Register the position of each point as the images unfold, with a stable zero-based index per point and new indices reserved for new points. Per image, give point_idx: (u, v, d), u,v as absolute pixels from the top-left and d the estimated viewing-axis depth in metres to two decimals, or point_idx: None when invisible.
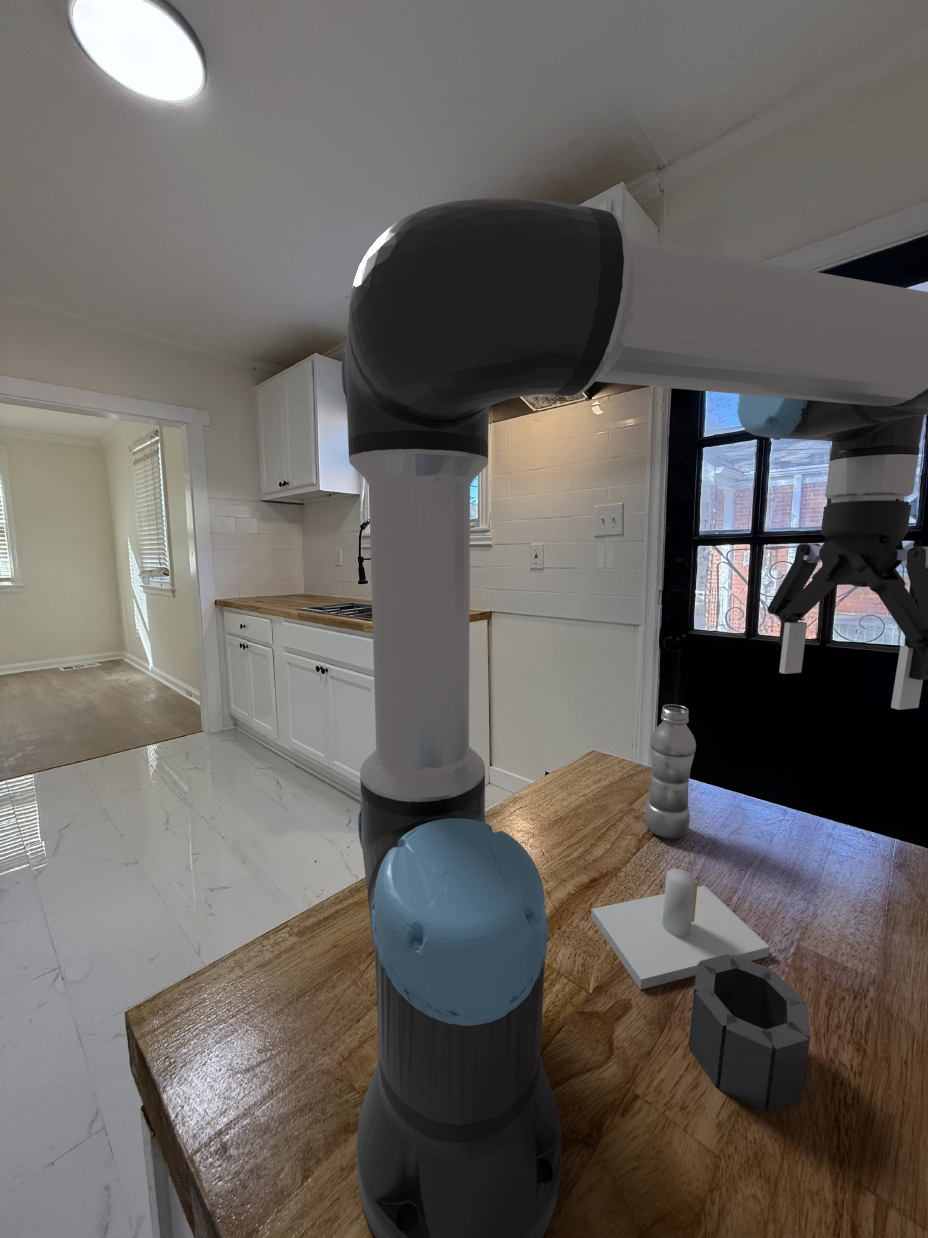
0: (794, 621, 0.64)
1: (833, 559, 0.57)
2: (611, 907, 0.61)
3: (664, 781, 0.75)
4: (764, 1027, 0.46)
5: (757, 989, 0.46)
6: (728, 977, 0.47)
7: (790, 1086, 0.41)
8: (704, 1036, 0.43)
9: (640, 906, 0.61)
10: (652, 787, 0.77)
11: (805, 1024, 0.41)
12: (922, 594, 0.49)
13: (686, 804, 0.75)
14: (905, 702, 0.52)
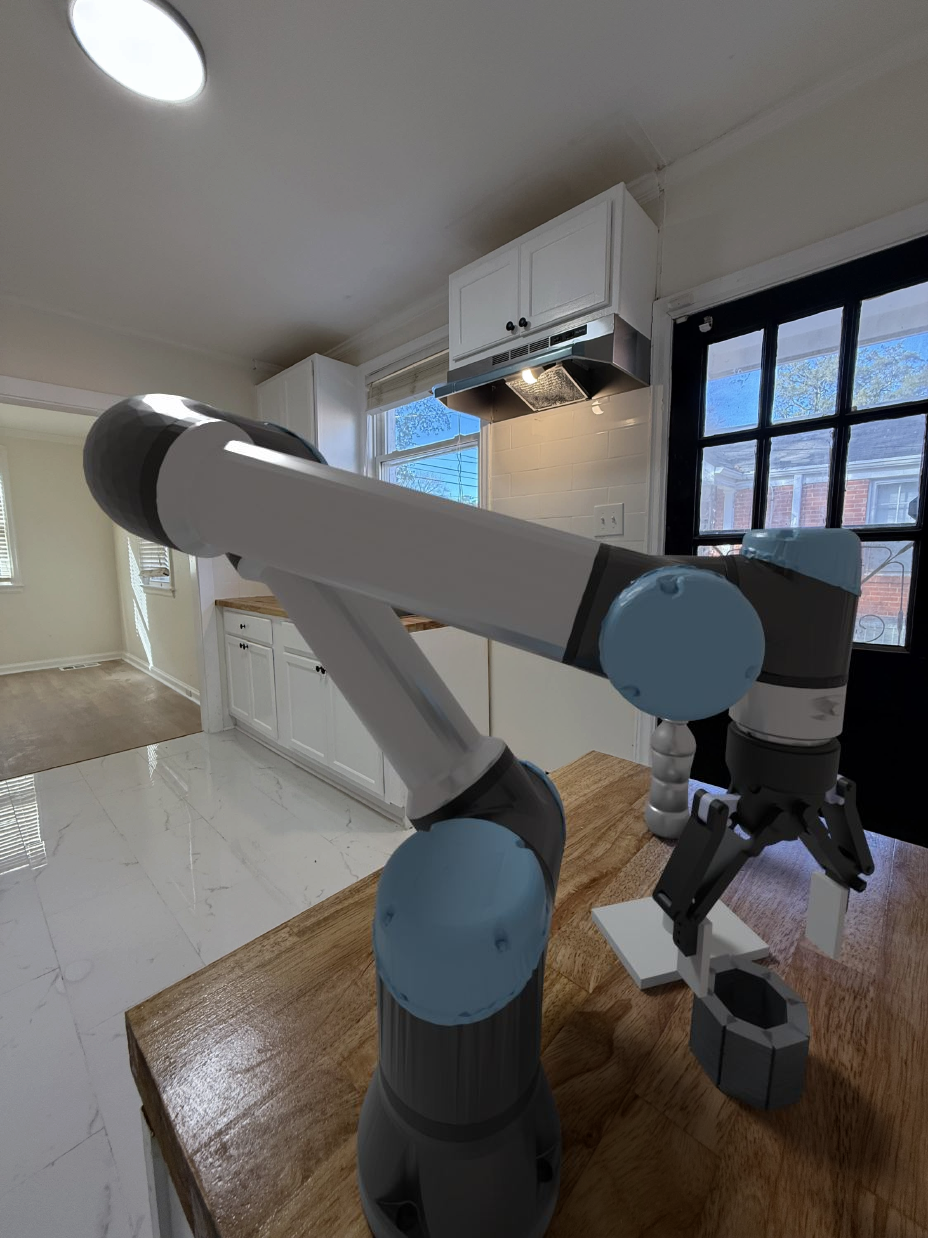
0: (833, 879, 0.44)
1: None
2: (611, 907, 0.61)
3: (664, 781, 0.75)
4: (764, 1027, 0.46)
5: (757, 989, 0.46)
6: (728, 977, 0.47)
7: (790, 1086, 0.41)
8: (704, 1036, 0.43)
9: (640, 906, 0.61)
10: (652, 787, 0.77)
11: (805, 1024, 0.41)
12: None
13: (686, 804, 0.75)
14: (683, 970, 0.42)
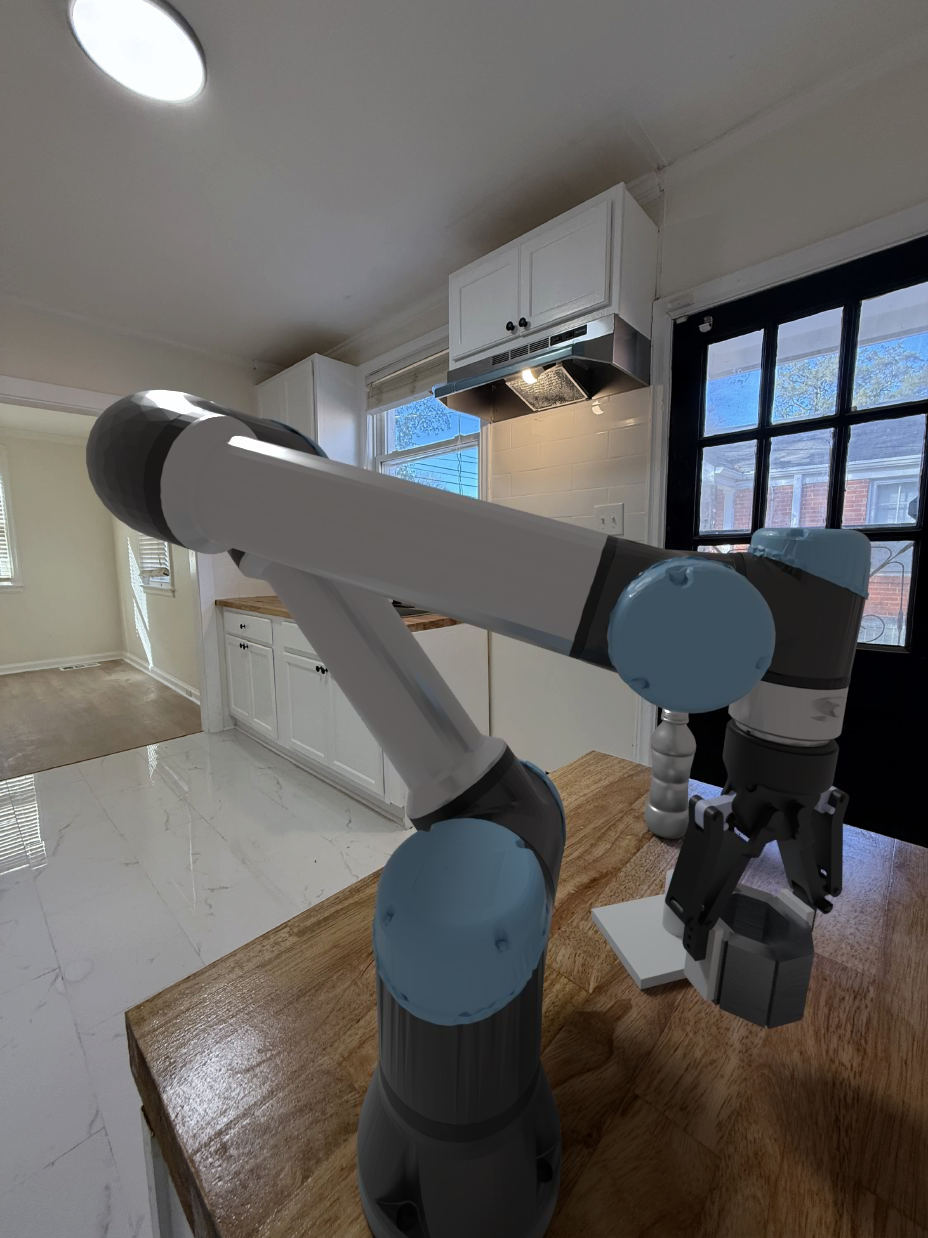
0: (800, 899, 0.44)
1: None
2: (611, 907, 0.61)
3: (664, 781, 0.75)
4: None
5: (759, 914, 0.45)
6: (730, 902, 0.46)
7: (792, 1003, 0.39)
8: None
9: (640, 906, 0.61)
10: (652, 787, 0.77)
11: (809, 942, 0.40)
12: None
13: (686, 804, 0.75)
14: (690, 973, 0.43)
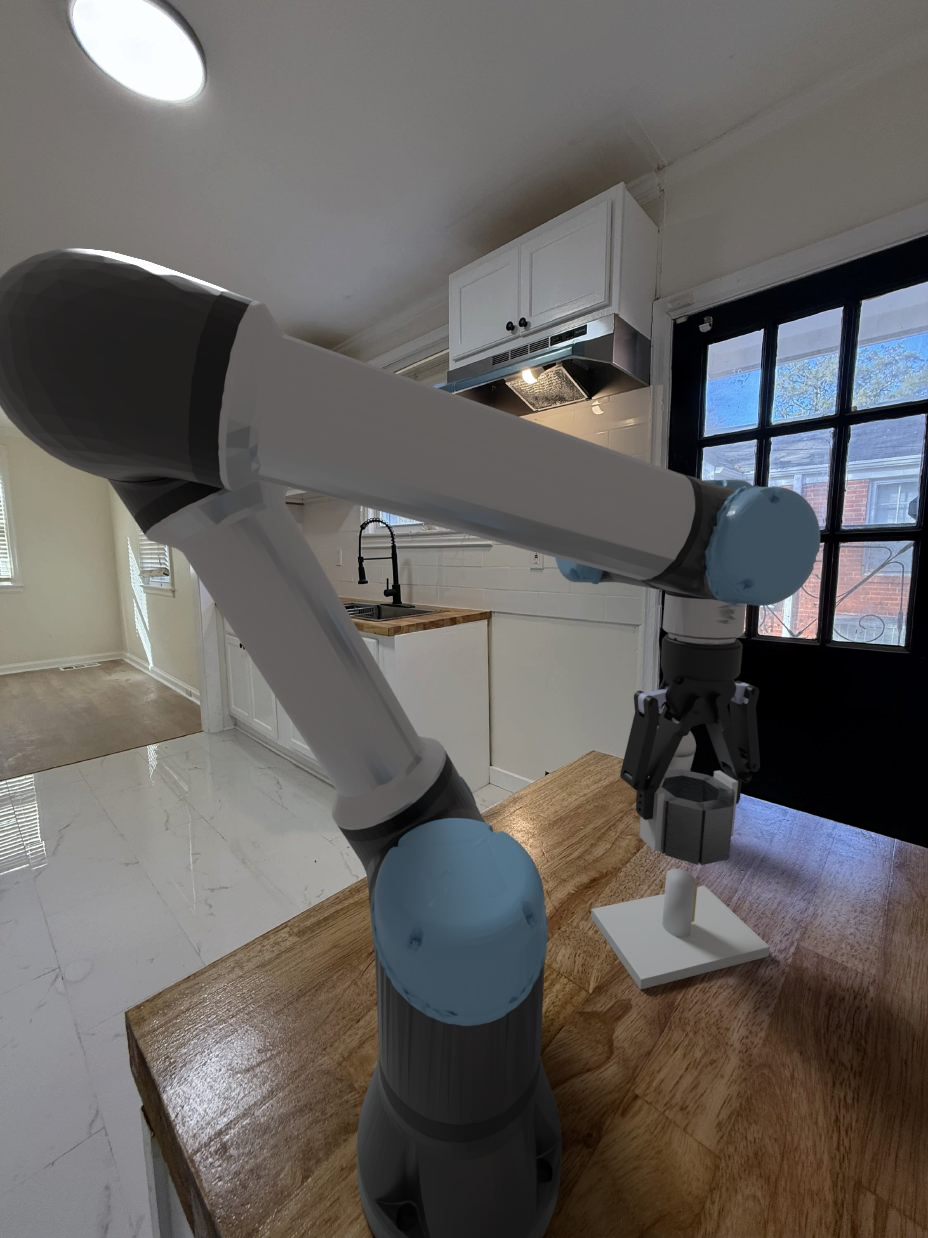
0: (728, 775, 0.56)
1: None
2: (611, 907, 0.61)
3: None
4: None
5: (698, 790, 0.57)
6: (676, 782, 0.58)
7: (719, 845, 0.52)
8: None
9: (640, 906, 0.61)
10: None
11: (731, 799, 0.52)
12: None
13: None
14: (644, 834, 0.55)
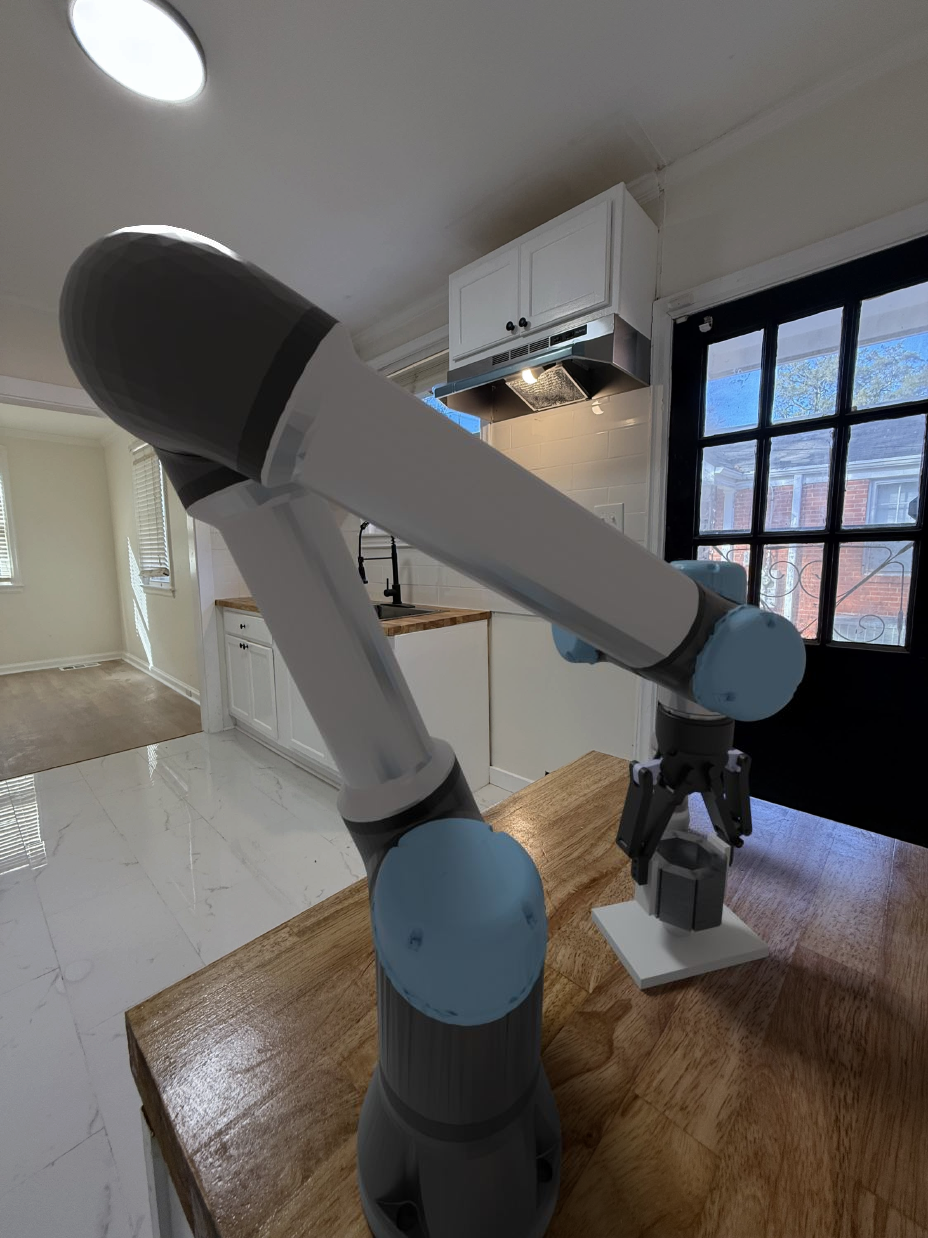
0: (721, 839, 0.57)
1: None
2: (611, 907, 0.61)
3: None
4: None
5: (692, 852, 0.58)
6: (670, 844, 0.59)
7: (711, 912, 0.53)
8: None
9: (640, 906, 0.61)
10: None
11: (723, 867, 0.54)
12: None
13: (686, 804, 0.75)
14: (638, 897, 0.56)
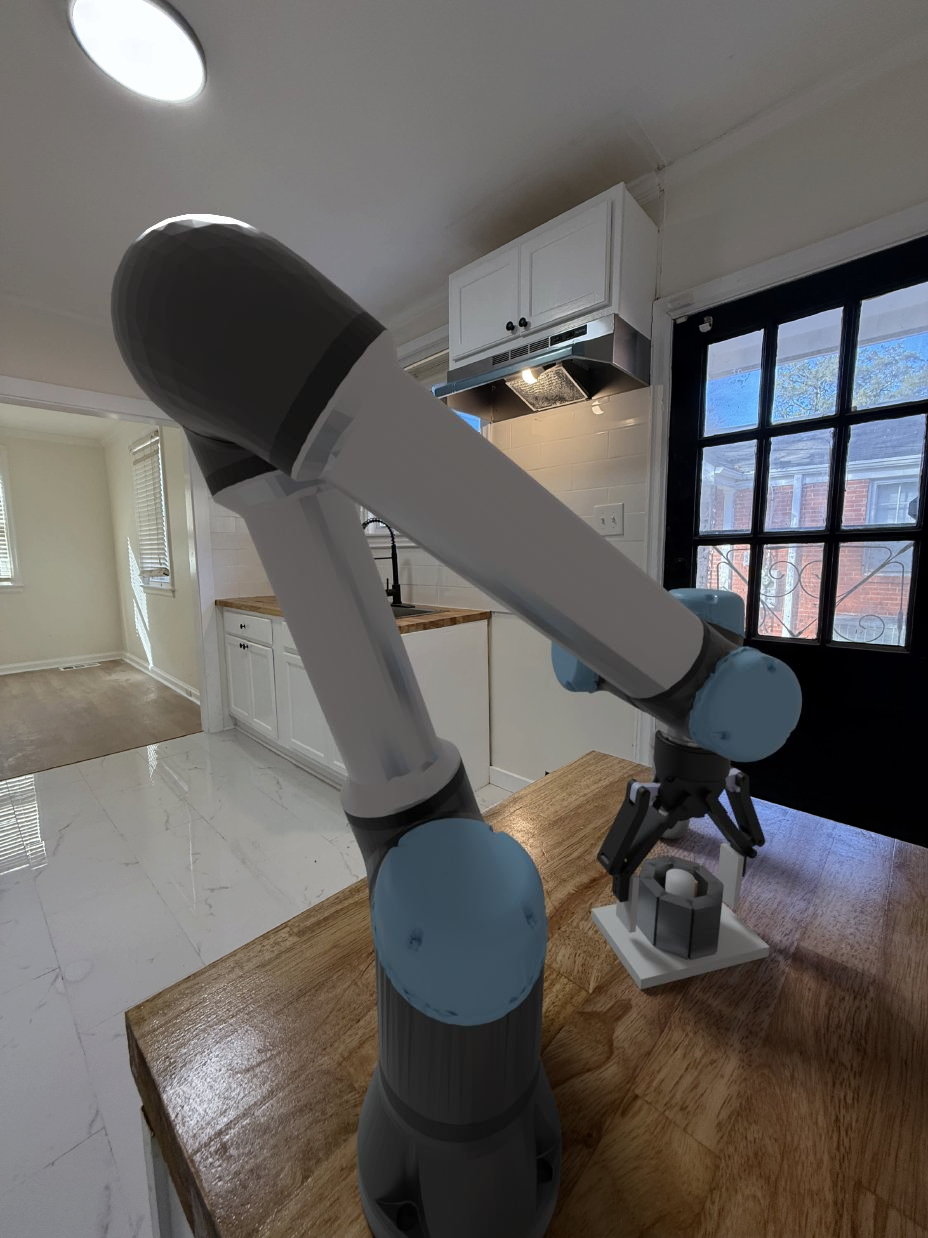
0: (734, 849, 0.58)
1: None
2: (611, 907, 0.61)
3: None
4: None
5: None
6: (667, 870, 0.60)
7: (707, 941, 0.53)
8: (645, 910, 0.56)
9: None
10: None
11: (720, 896, 0.54)
12: None
13: None
14: (620, 914, 0.56)
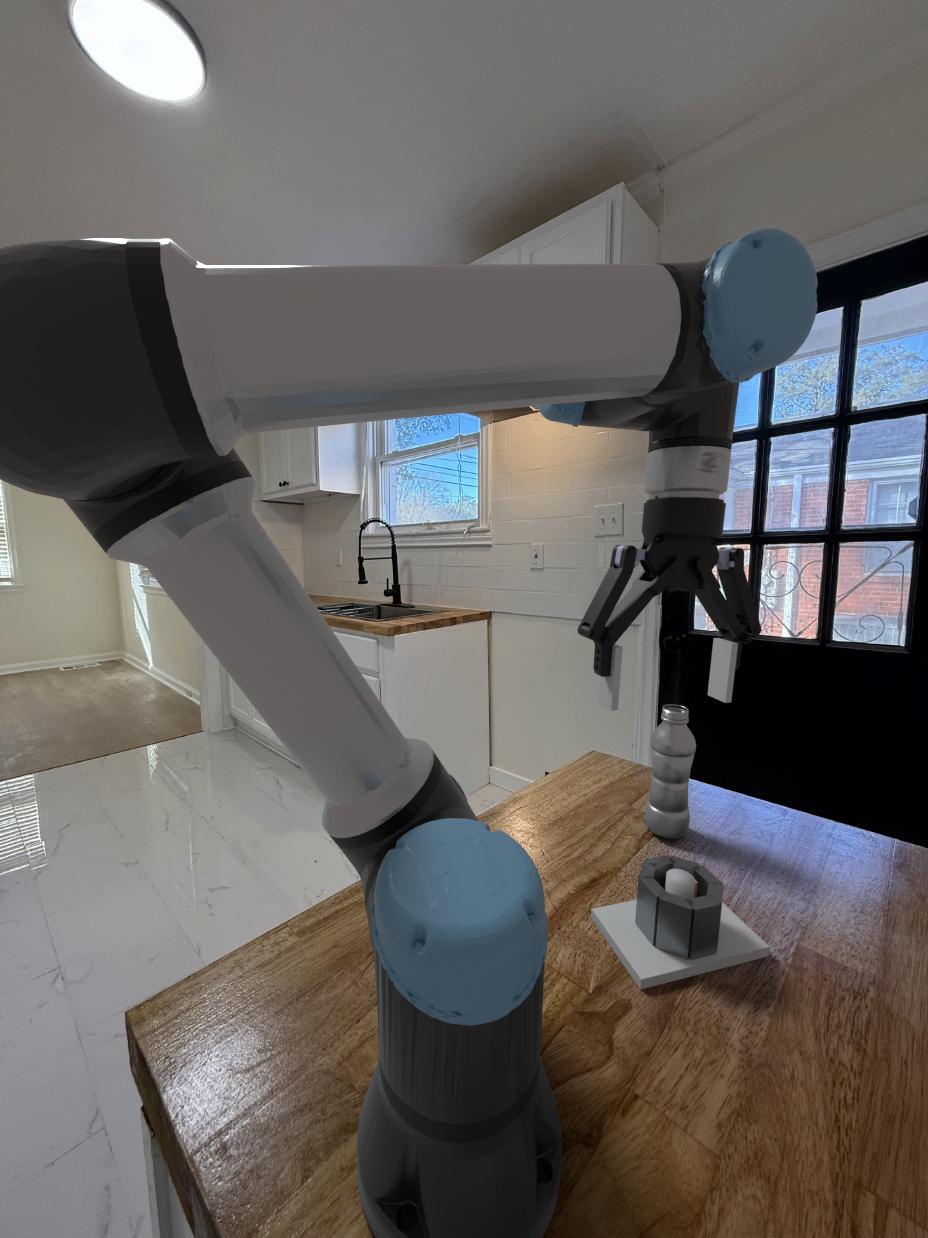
0: (728, 639, 0.54)
1: None
2: (611, 907, 0.61)
3: (664, 781, 0.75)
4: None
5: None
6: (667, 870, 0.60)
7: (707, 941, 0.53)
8: (645, 910, 0.56)
9: None
10: (652, 787, 0.77)
11: (720, 896, 0.54)
12: None
13: (686, 804, 0.75)
14: (601, 697, 0.52)
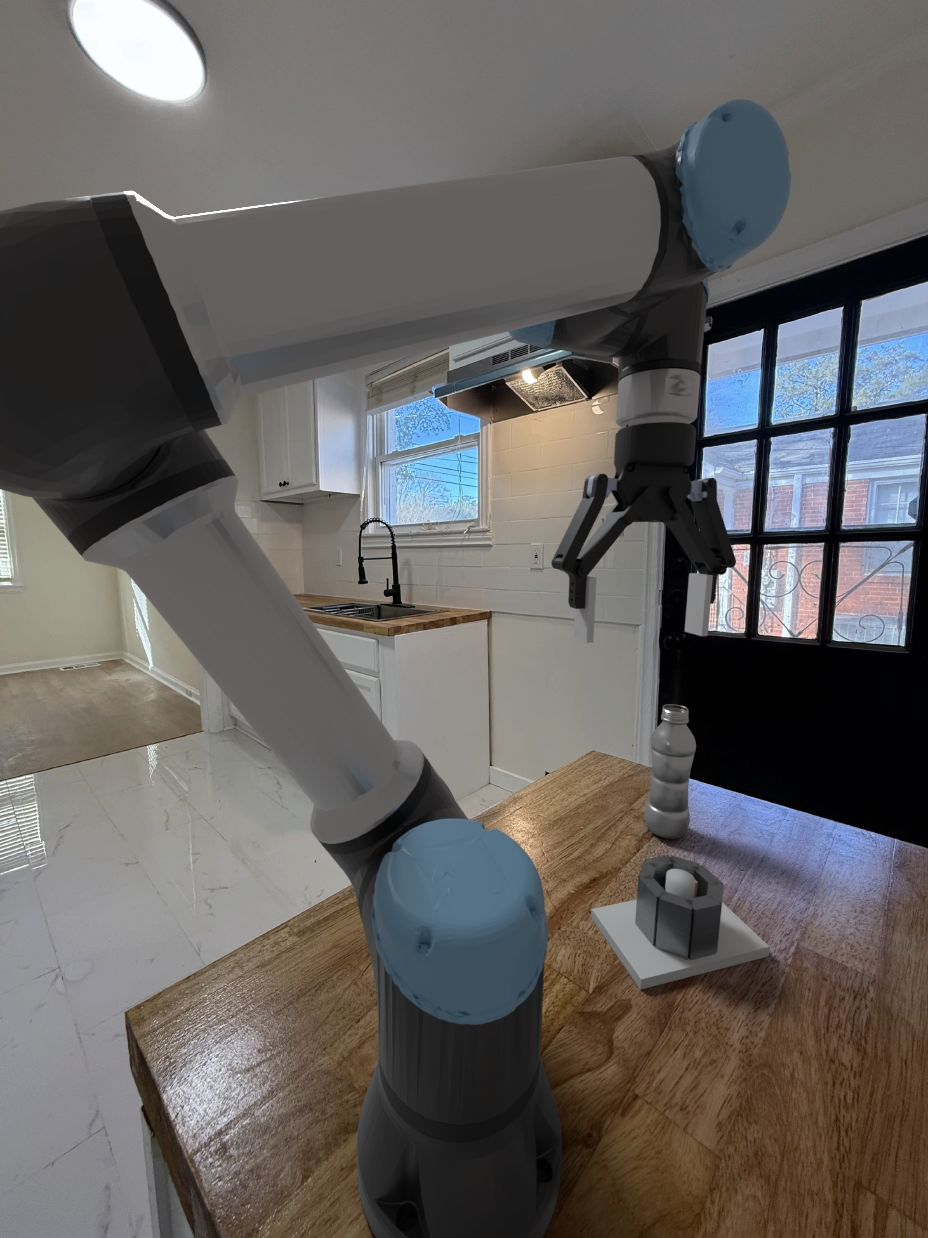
0: (703, 573, 0.54)
1: None
2: (611, 907, 0.61)
3: (664, 781, 0.75)
4: None
5: None
6: (667, 870, 0.60)
7: (707, 941, 0.53)
8: (645, 910, 0.56)
9: None
10: (652, 787, 0.77)
11: (720, 896, 0.54)
12: None
13: (686, 804, 0.75)
14: (577, 632, 0.52)
